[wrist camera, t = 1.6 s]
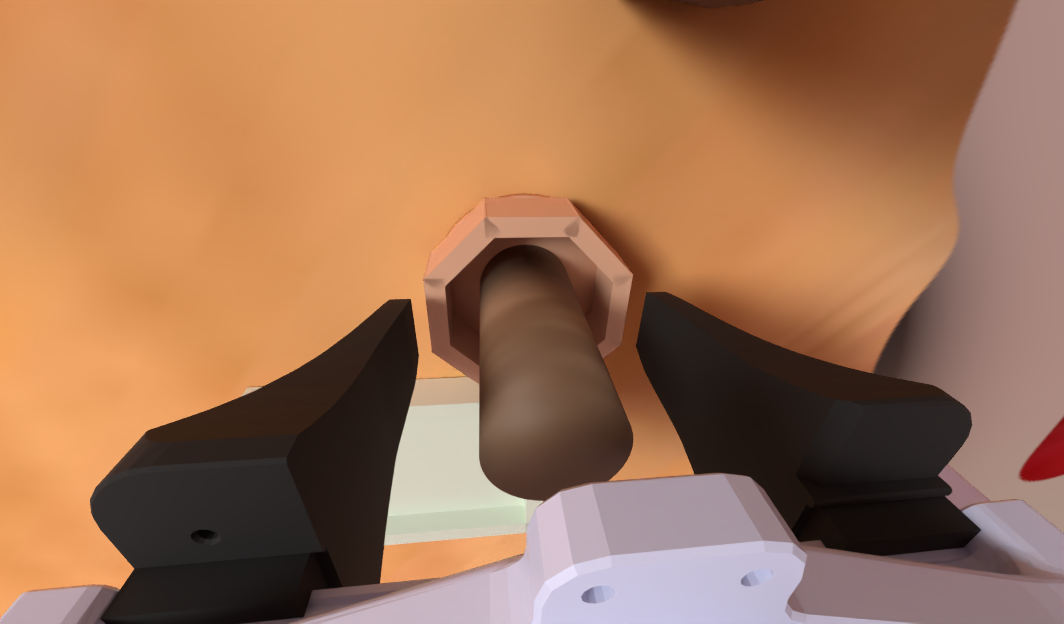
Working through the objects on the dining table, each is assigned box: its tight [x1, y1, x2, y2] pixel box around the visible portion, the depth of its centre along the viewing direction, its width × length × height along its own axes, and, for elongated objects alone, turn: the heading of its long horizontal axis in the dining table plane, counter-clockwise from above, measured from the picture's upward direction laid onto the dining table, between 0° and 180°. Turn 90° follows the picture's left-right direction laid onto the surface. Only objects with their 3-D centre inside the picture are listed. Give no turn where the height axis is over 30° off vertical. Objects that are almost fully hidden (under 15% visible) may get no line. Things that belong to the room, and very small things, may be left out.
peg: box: [479, 244, 633, 501], centre depth 12 cm, size 3×3×8 cm
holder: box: [423, 194, 633, 384], centre depth 14 cm, size 6×6×2 cm
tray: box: [242, 377, 543, 545], centre depth 19 cm, size 12×9×2 cm
